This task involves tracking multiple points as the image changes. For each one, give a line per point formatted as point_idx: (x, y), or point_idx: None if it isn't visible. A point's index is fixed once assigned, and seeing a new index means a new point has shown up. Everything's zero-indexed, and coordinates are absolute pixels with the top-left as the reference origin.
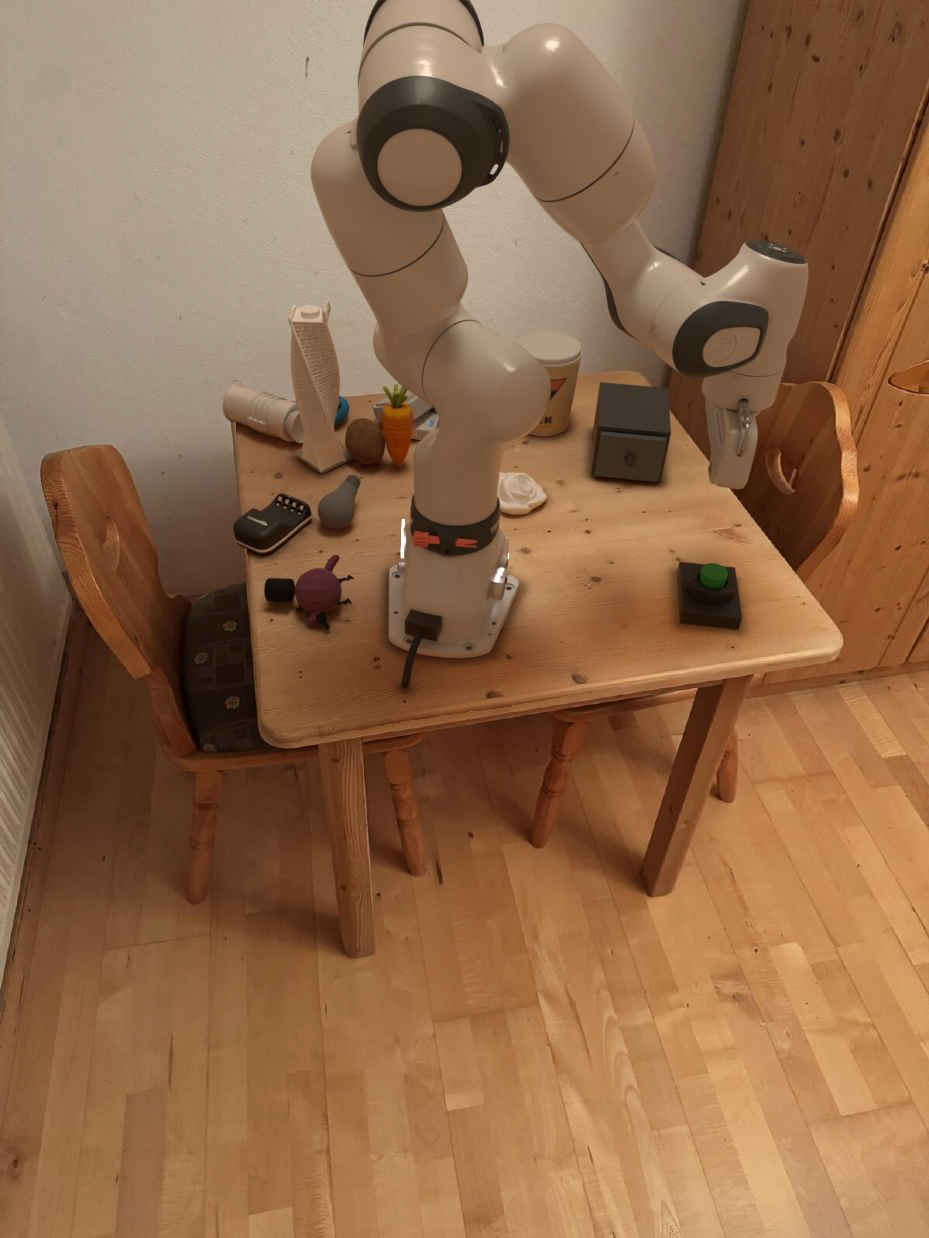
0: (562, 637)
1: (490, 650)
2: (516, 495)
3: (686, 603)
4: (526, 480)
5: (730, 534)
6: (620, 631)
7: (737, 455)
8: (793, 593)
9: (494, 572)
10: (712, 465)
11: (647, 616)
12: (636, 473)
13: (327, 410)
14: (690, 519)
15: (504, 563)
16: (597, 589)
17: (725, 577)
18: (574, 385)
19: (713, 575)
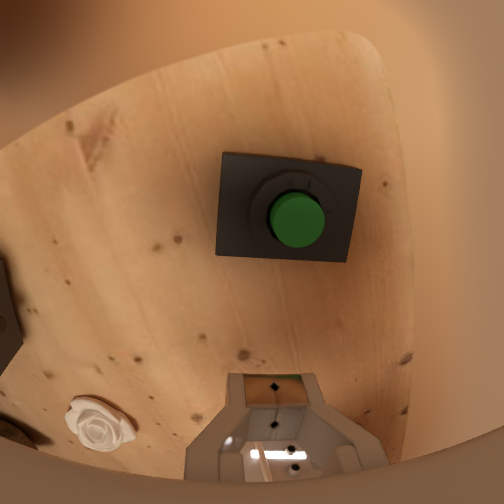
0: (349, 379)
1: (360, 425)
2: (118, 438)
3: (327, 255)
4: (86, 429)
5: (94, 140)
6: (347, 327)
7: (378, 468)
8: (255, 51)
9: (310, 471)
10: (265, 437)
11: (321, 295)
12: (3, 297)
13: None
14: (66, 208)
15: (299, 470)
16: (265, 353)
17: (317, 204)
18: None
19: (312, 227)
